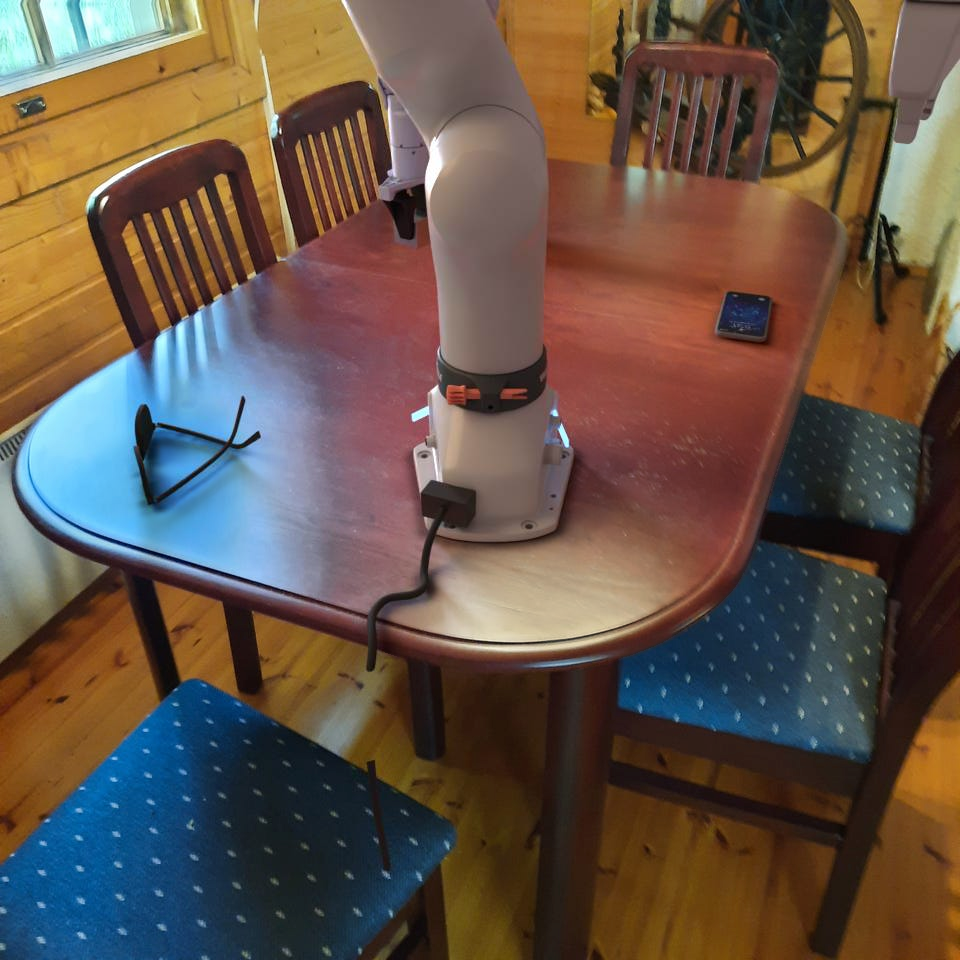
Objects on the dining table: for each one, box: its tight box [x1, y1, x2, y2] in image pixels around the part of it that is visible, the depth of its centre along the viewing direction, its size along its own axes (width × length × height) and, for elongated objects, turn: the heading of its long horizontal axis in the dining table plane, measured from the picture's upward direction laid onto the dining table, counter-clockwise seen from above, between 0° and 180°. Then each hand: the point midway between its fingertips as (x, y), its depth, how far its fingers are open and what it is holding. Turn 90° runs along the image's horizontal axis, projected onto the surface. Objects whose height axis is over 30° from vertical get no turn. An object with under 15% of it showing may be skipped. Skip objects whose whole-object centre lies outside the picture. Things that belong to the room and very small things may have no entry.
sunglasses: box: [132, 395, 262, 506], centre depth 100 cm, size 17×14×5 cm
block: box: [392, 208, 431, 250], centre depth 133 cm, size 4×5×4 cm
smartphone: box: [714, 290, 774, 343], centre depth 128 cm, size 7×1×15 cm
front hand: (912, 129), depth 84 cm, fingers open, 8 cm apart
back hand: (416, 232), depth 134 cm, fingers closed on block, 5 cm apart
